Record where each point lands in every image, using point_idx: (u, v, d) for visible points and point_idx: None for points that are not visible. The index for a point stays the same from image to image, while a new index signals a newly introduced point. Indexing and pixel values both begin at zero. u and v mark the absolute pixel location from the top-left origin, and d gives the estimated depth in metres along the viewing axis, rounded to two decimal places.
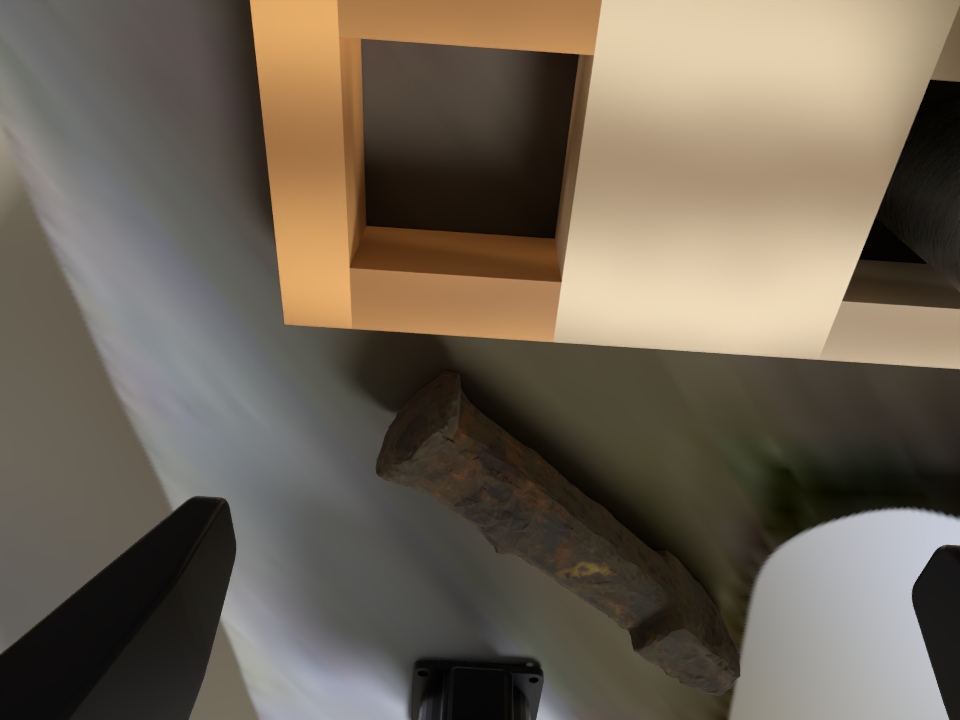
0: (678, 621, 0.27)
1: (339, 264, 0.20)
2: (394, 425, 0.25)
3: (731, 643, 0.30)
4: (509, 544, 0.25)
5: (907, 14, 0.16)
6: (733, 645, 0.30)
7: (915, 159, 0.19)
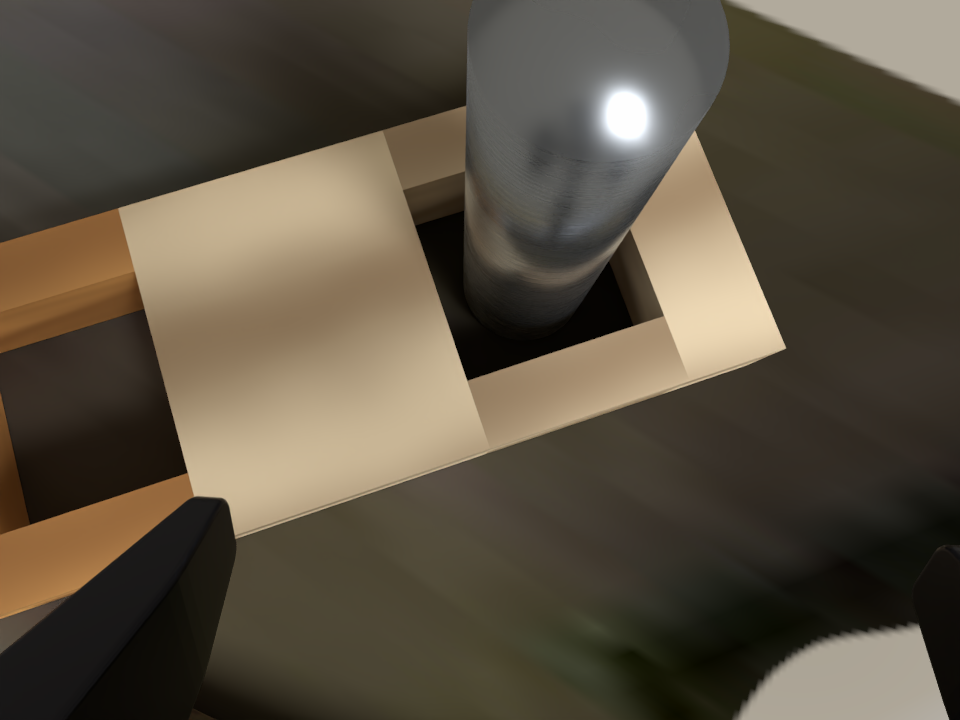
0: None
1: None
2: None
3: None
4: None
5: (354, 160, 0.21)
6: None
7: None
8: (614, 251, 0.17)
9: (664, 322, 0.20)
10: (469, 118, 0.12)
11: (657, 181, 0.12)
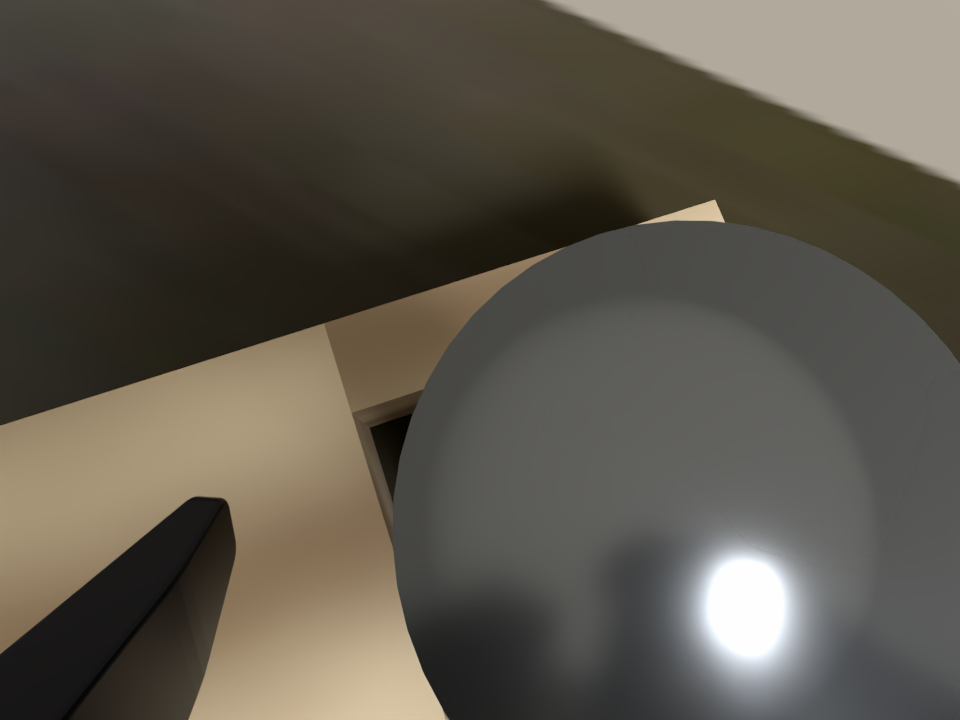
0: None
1: None
2: None
3: None
4: None
5: (282, 369, 0.15)
6: None
7: None
8: None
9: None
10: None
11: None
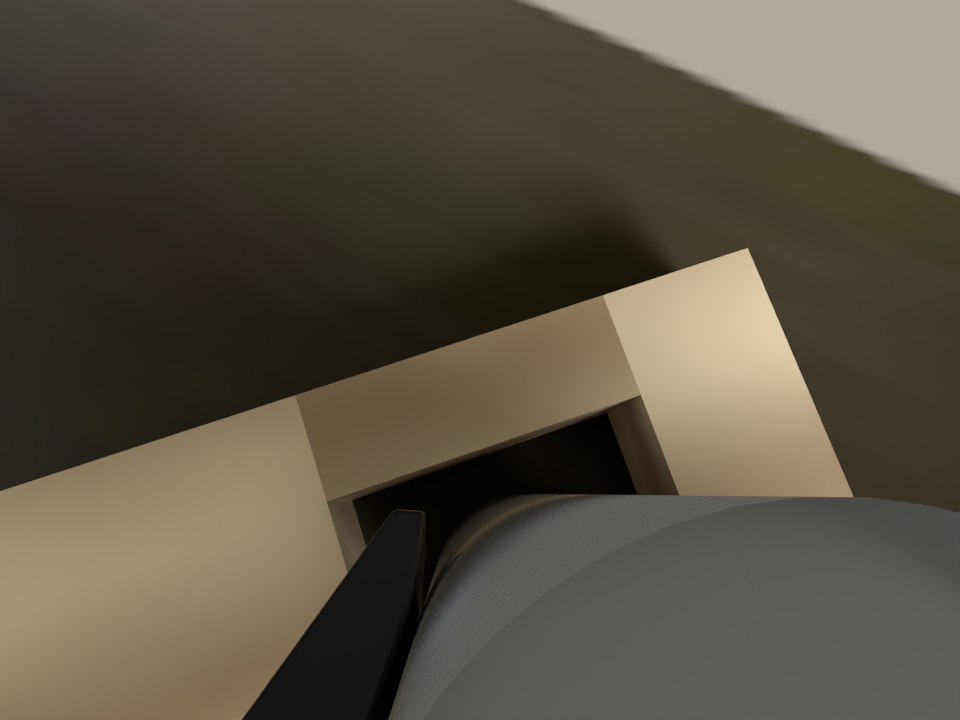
0: None
1: None
2: None
3: None
4: None
5: (246, 449, 0.13)
6: None
7: None
8: None
9: None
10: None
11: None
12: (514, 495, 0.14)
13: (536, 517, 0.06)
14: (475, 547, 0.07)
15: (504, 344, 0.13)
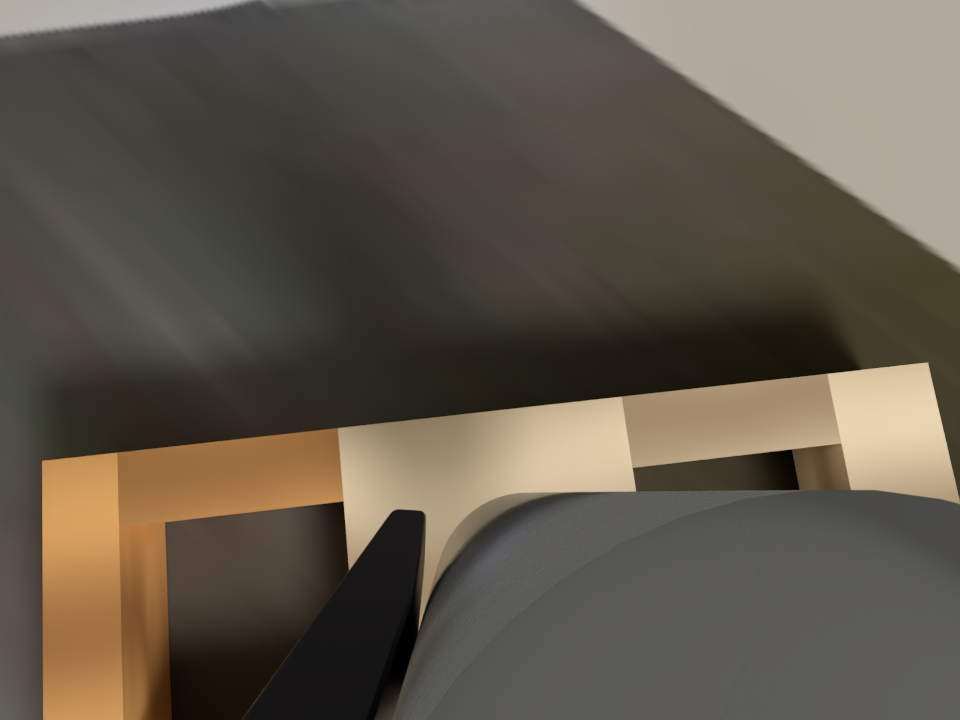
0: None
1: None
2: None
3: None
4: None
5: (587, 424, 0.20)
6: None
7: None
8: None
9: None
10: None
11: None
12: None
13: (540, 514, 0.06)
14: (479, 544, 0.07)
15: (758, 392, 0.20)
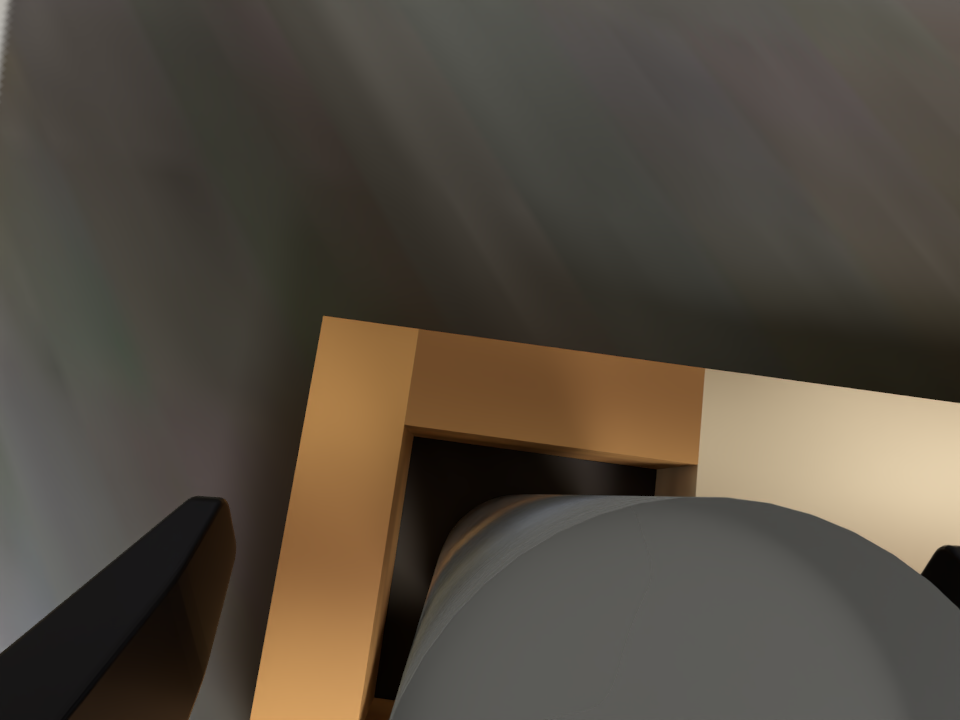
0: None
1: None
2: None
3: None
4: None
5: None
6: None
7: None
8: None
9: None
10: None
11: None
12: (508, 495, 0.16)
13: (521, 513, 0.07)
14: (472, 538, 0.08)
15: None
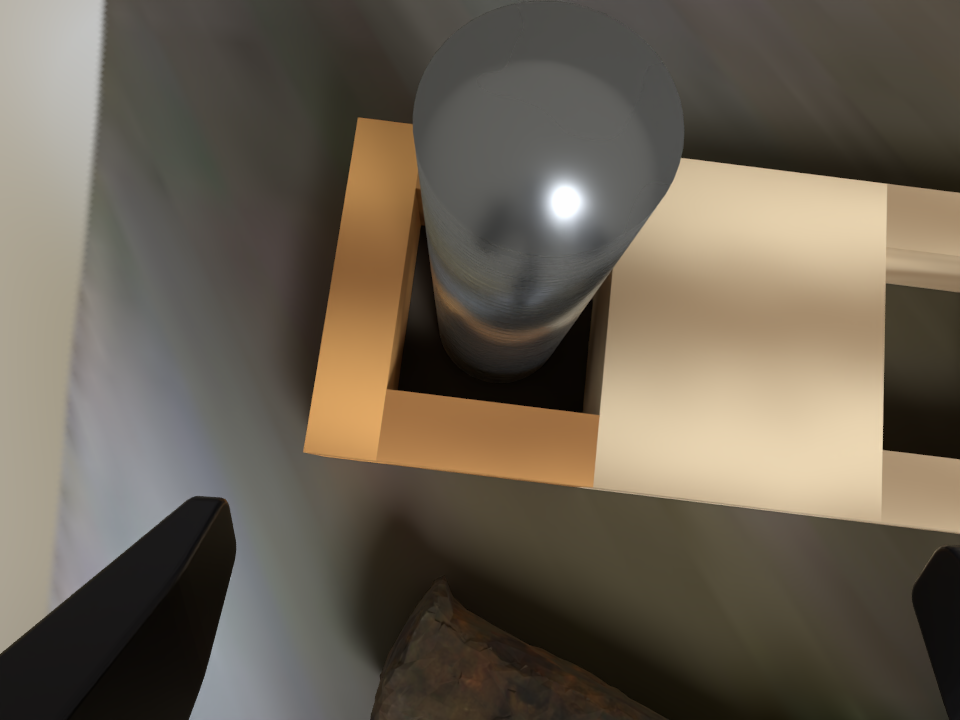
0: None
1: (377, 384, 0.20)
2: (384, 665, 0.20)
3: None
4: None
5: (851, 200, 0.21)
6: None
7: None
8: None
9: None
10: (422, 197, 0.12)
11: (617, 258, 0.12)
12: None
13: None
14: None
15: None
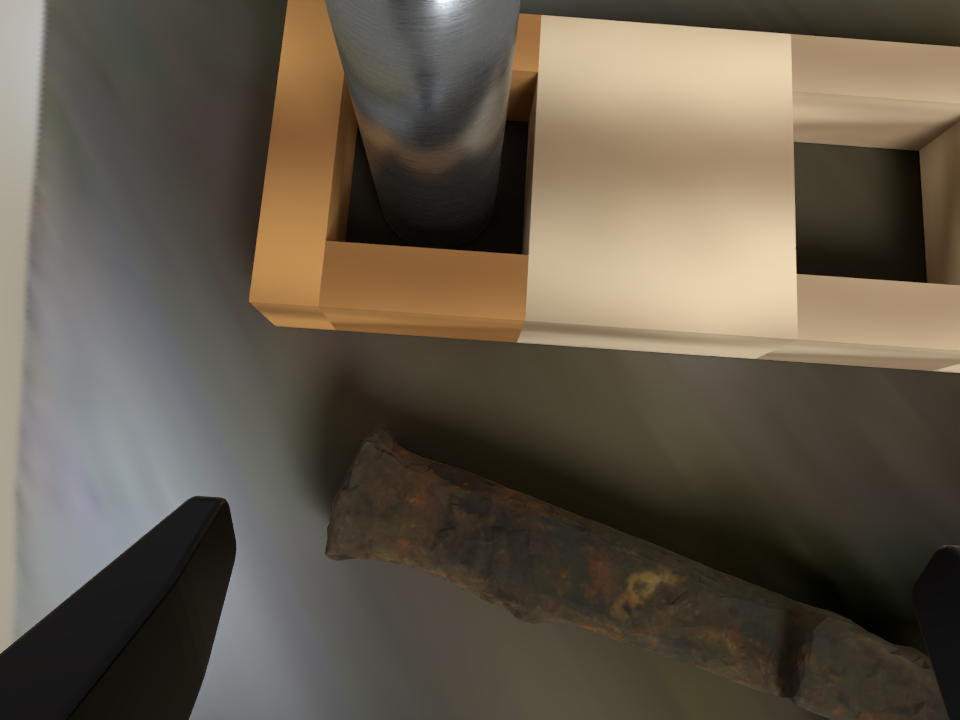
0: (815, 616, 0.18)
1: (316, 237, 0.21)
2: None
3: None
4: (524, 582, 0.19)
5: (757, 50, 0.22)
6: None
7: None
8: (496, 126, 0.17)
9: None
10: None
11: (499, 19, 0.13)
12: None
13: None
14: None
15: (912, 52, 0.22)
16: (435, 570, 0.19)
